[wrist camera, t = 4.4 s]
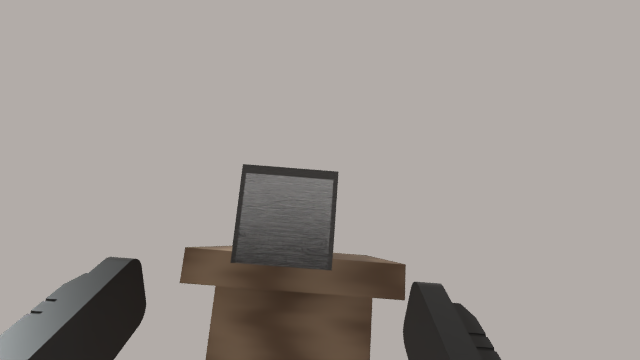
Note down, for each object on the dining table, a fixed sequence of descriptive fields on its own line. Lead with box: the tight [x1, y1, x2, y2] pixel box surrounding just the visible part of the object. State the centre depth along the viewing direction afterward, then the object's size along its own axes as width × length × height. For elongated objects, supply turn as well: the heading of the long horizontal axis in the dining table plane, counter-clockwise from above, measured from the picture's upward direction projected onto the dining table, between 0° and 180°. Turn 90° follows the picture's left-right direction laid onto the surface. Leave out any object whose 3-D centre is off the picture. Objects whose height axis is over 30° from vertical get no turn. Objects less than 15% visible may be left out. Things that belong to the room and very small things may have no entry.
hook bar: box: [230, 164, 338, 271], centre depth 21 cm, size 5×21×4 cm, turn 1°
